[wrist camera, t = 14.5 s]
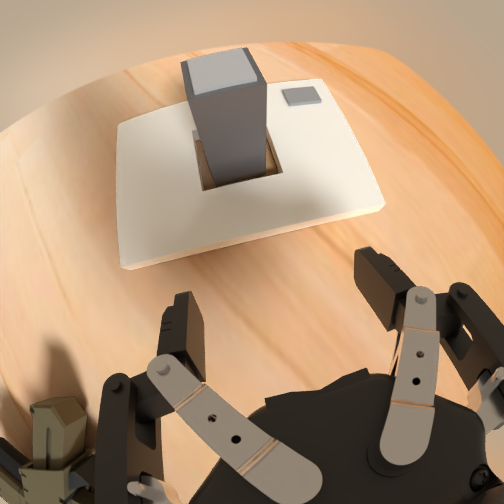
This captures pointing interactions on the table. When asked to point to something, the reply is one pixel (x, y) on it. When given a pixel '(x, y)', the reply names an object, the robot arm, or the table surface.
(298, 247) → the table surface
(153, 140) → the plate
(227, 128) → the grey rectangular peg
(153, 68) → the table surface
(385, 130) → the table surface
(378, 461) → the robot arm
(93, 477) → the futuristic firearm
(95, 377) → the table surface
